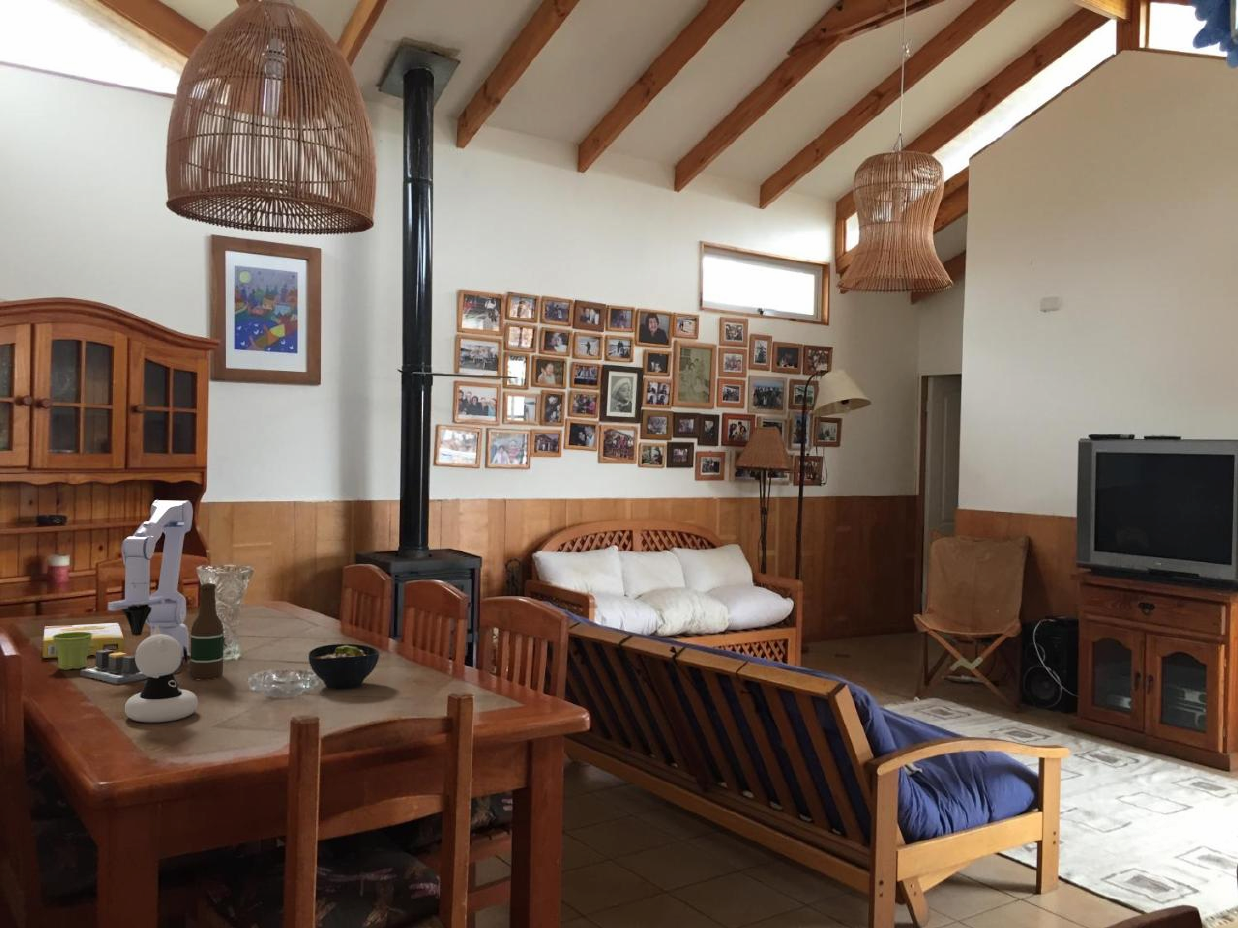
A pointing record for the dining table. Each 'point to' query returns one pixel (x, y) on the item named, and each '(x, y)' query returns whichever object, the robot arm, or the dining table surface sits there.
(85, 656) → the plant pot
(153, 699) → the decorative figurine
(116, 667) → the block
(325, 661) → the bowl
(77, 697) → the dining table surface
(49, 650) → the cereal box
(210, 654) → the beer bottle
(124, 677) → the panel
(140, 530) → the robot arm
